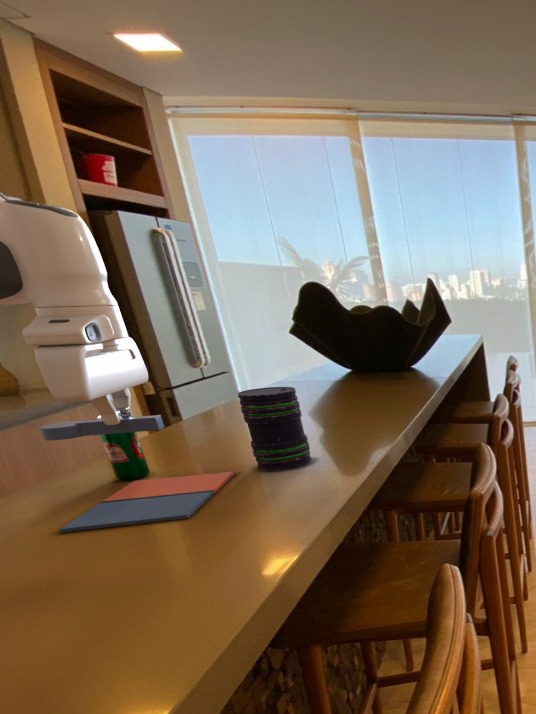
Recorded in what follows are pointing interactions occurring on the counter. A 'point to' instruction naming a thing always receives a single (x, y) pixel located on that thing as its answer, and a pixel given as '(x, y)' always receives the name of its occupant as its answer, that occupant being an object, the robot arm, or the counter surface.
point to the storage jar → (275, 428)
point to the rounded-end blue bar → (100, 427)
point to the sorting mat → (151, 502)
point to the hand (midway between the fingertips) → (120, 421)
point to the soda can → (125, 455)
